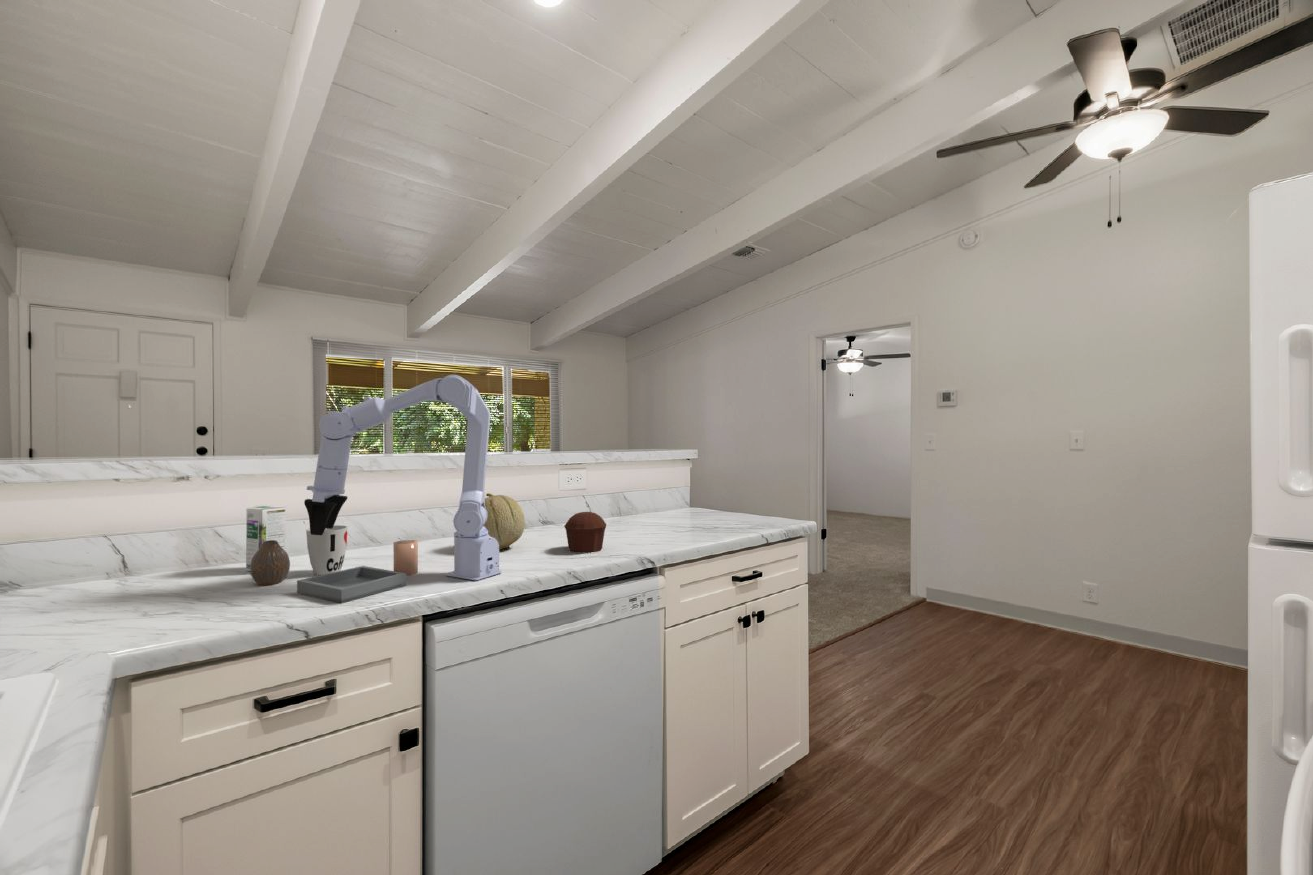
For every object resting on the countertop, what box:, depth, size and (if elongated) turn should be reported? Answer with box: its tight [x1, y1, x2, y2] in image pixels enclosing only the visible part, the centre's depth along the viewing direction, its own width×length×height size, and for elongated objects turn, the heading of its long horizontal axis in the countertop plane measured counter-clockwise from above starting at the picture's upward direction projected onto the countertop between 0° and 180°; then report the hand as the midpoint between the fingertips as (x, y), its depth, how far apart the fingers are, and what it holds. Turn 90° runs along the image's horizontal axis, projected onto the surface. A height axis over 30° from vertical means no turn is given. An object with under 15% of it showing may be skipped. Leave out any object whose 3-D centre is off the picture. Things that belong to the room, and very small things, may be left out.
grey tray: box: [296, 565, 407, 604], centre depth 115 cm, size 14×14×2 cm
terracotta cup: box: [392, 539, 419, 577], centre depth 128 cm, size 5×5×7 cm
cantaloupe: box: [483, 492, 526, 550], centre depth 155 cm, size 15×15×15 cm
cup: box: [305, 524, 349, 576], centre depth 129 cm, size 8×8×10 cm
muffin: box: [564, 511, 607, 554], centre depth 154 cm, size 12×11×10 cm
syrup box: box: [245, 505, 287, 572], centre depth 131 cm, size 6×6×14 cm
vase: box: [249, 540, 291, 586], centre depth 120 cm, size 7×7×9 cm
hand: (321, 531), depth 121 cm, fingers open, 7 cm apart
